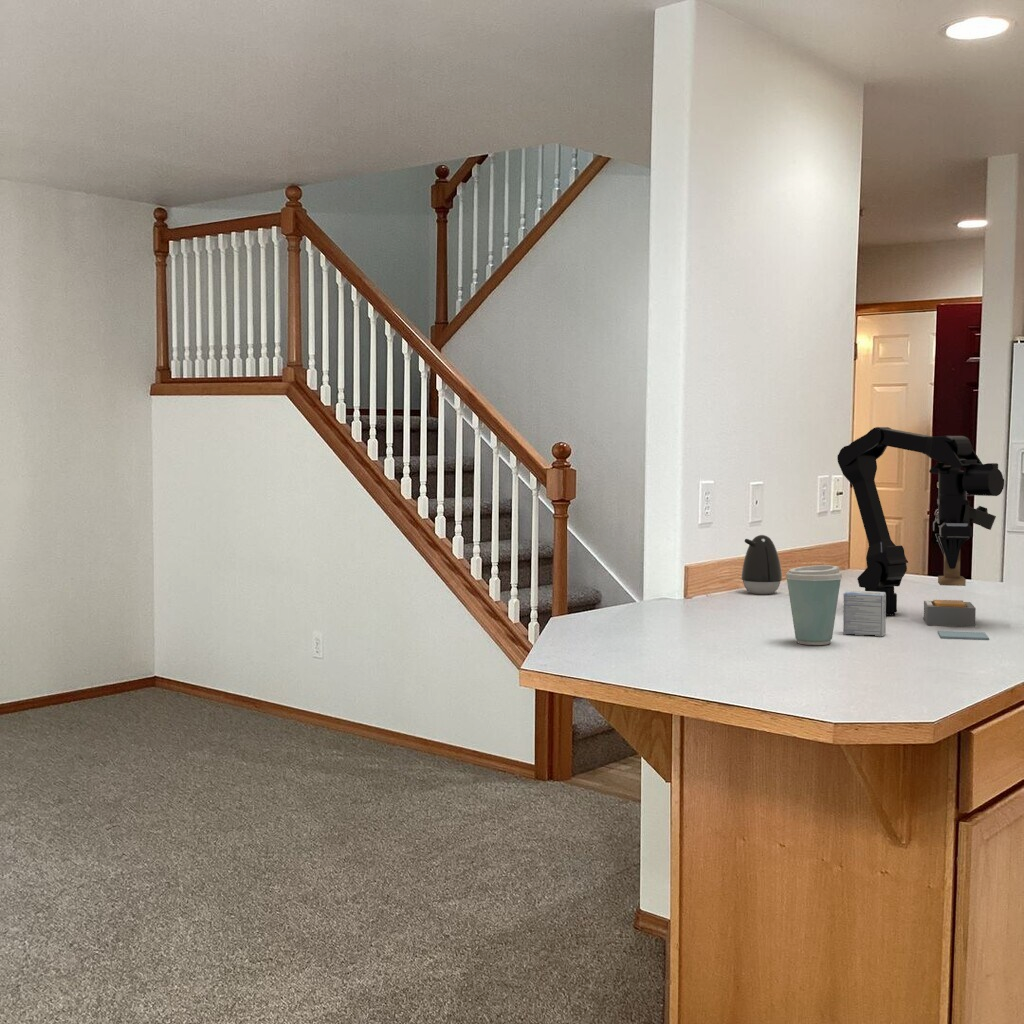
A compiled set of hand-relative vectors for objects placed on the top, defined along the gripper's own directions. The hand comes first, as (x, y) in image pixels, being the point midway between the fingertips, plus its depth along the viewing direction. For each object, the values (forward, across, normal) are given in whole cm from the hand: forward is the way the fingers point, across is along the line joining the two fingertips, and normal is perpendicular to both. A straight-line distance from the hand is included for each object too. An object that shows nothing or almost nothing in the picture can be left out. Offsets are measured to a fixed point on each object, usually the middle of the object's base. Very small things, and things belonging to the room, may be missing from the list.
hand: (951, 567), depth 250 cm
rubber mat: (+12, -16, -1) cm, 20 cm away
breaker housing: (+12, +2, 0) cm, 12 cm away
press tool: (+4, 0, 0) cm, 4 cm away
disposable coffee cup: (+12, -31, +29) cm, 44 cm away
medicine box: (+12, -18, +18) cm, 29 cm away
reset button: (+11, +2, 0) cm, 11 cm away
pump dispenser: (+12, +43, +42) cm, 61 cm away
